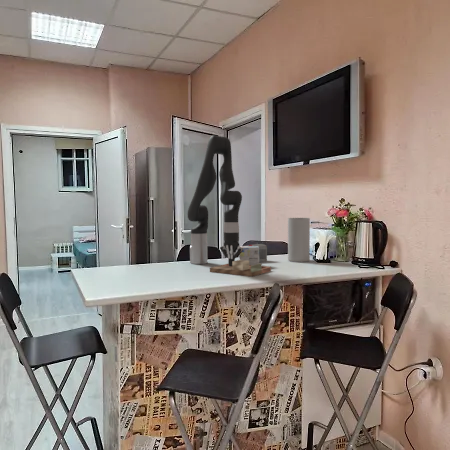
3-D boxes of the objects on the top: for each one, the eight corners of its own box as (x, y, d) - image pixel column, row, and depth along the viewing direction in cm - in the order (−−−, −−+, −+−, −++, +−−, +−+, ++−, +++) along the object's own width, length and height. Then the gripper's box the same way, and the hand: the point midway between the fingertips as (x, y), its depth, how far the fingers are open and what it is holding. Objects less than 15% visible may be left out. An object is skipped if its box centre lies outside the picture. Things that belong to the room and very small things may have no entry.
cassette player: (242, 263, 229) (242, 245, 228) (240, 262, 231) (240, 245, 230) (266, 261, 235) (266, 244, 234) (264, 260, 237) (264, 243, 237)
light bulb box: (259, 265, 220) (259, 245, 219) (259, 267, 213) (259, 247, 213) (240, 265, 221) (239, 245, 220) (239, 267, 214) (239, 247, 214)
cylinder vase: (313, 260, 235) (313, 218, 233) (302, 263, 225) (302, 218, 224) (295, 258, 243) (295, 217, 241) (283, 261, 233) (283, 218, 232)
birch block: (232, 269, 194) (232, 261, 194) (239, 267, 199) (239, 259, 198) (242, 270, 190) (242, 262, 190) (249, 268, 195) (249, 260, 195)
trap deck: (209, 271, 200) (209, 261, 200) (229, 266, 215) (229, 257, 214) (252, 276, 186) (252, 265, 186) (270, 270, 201) (270, 261, 200)
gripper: (216, 231, 197) (216, 266, 198) (238, 232, 189) (238, 268, 190) (224, 230, 203) (225, 264, 204) (246, 231, 195) (247, 266, 197)
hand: (231, 266), depth 197 cm, fingers closed
